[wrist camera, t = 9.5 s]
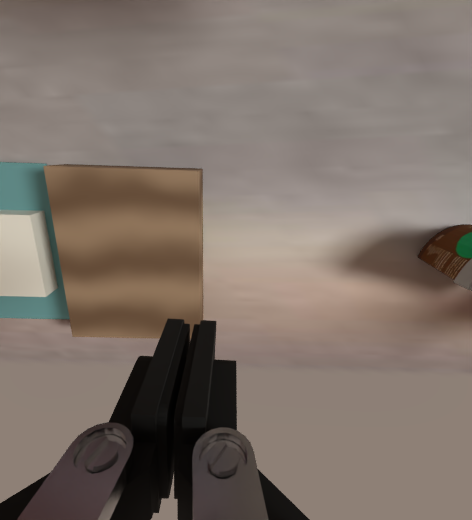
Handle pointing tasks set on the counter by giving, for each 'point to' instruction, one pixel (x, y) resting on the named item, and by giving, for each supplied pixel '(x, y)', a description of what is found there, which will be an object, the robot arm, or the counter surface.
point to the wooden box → (128, 247)
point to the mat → (36, 199)
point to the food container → (451, 254)
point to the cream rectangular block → (25, 255)
